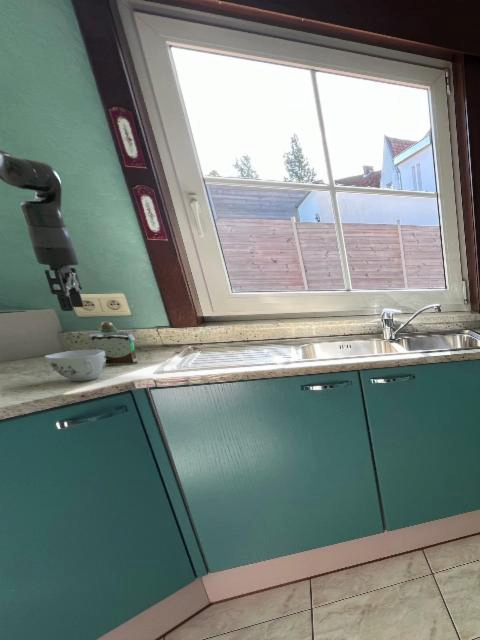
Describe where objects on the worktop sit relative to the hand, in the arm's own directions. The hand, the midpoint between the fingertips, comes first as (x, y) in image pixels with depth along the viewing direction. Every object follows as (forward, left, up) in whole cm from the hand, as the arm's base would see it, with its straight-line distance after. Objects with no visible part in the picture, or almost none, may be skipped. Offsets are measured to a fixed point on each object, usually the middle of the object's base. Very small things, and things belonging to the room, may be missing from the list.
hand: (73, 308), depth 135 cm
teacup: (+2, +11, -22) cm, 24 cm away
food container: (+22, +29, -22) cm, 42 cm away
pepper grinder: (+28, +44, -22) cm, 56 cm away
